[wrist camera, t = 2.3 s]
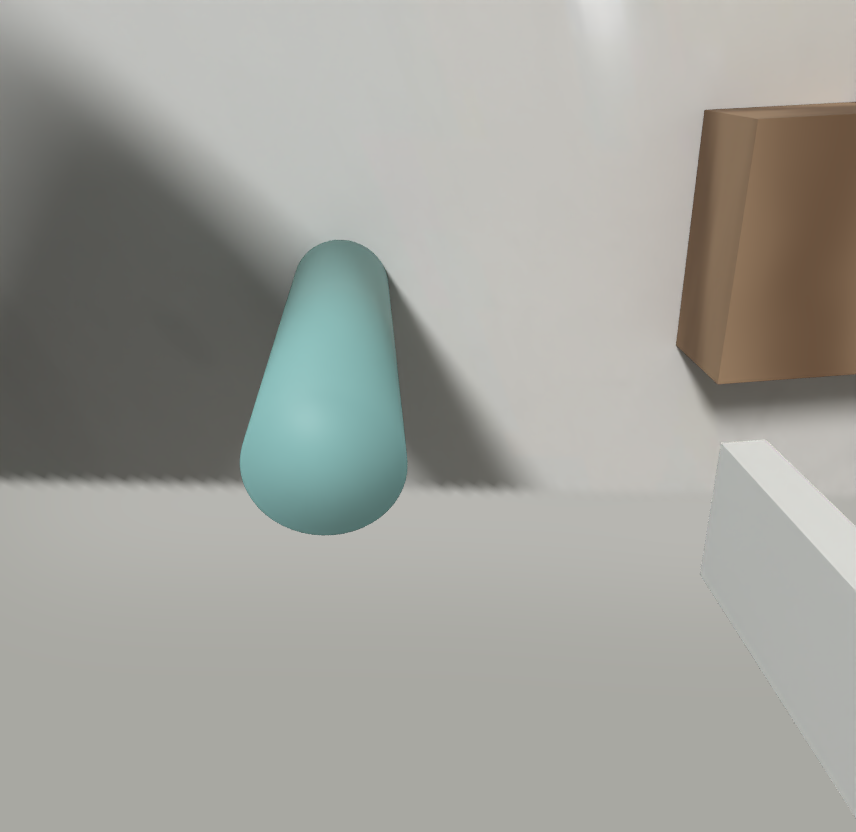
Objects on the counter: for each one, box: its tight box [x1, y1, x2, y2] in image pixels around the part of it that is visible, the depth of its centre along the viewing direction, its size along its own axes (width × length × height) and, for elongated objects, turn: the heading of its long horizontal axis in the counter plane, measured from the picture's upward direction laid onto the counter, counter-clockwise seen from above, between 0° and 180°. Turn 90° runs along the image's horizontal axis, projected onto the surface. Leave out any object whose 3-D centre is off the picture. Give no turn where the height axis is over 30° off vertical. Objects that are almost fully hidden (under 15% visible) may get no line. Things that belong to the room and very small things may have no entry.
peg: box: [240, 240, 407, 535], centre depth 19 cm, size 3×3×12 cm
